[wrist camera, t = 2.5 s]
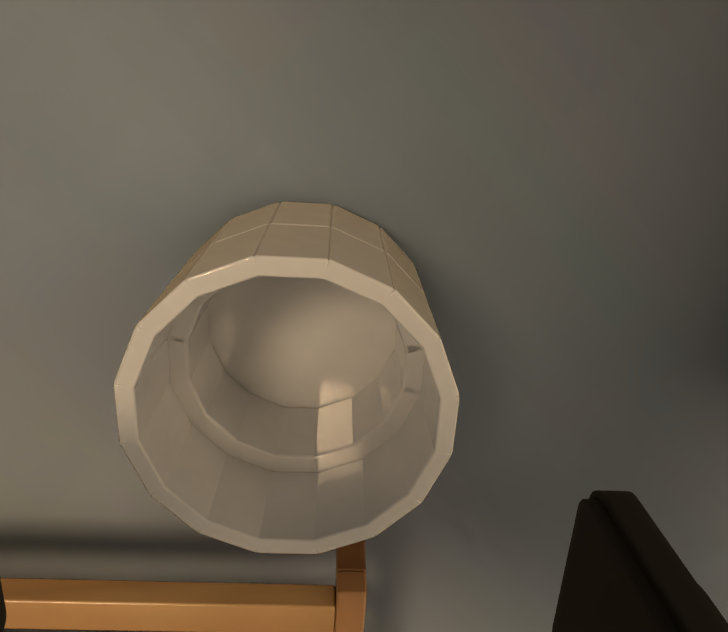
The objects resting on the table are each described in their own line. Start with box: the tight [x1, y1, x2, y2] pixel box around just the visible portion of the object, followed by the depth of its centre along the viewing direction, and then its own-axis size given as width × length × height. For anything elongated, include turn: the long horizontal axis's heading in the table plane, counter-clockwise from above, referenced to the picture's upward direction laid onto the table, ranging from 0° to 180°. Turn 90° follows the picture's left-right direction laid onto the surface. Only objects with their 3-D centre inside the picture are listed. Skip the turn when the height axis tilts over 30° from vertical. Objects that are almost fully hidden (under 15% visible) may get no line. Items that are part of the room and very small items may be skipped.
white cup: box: [114, 202, 460, 554], centre depth 15 cm, size 7×7×6 cm
